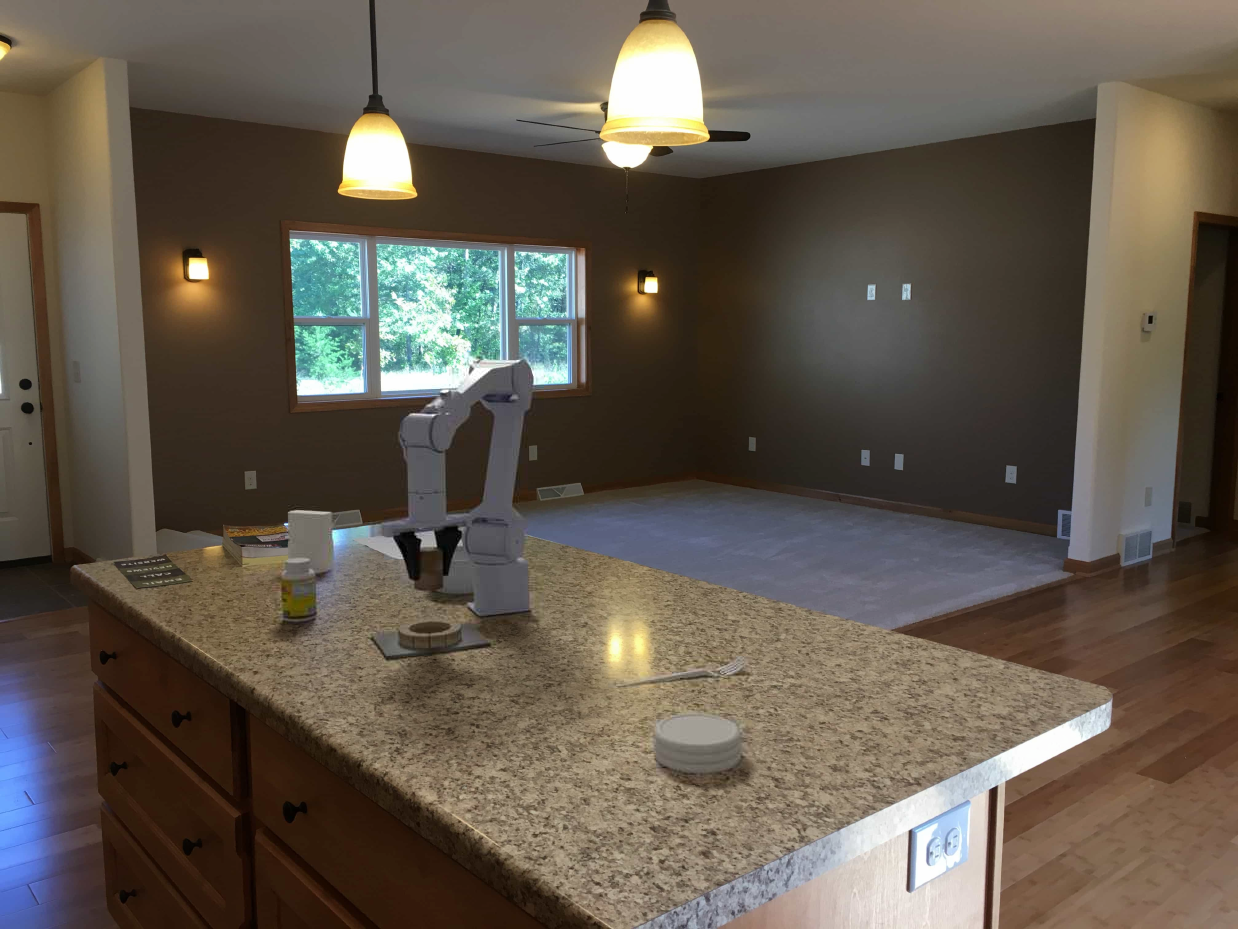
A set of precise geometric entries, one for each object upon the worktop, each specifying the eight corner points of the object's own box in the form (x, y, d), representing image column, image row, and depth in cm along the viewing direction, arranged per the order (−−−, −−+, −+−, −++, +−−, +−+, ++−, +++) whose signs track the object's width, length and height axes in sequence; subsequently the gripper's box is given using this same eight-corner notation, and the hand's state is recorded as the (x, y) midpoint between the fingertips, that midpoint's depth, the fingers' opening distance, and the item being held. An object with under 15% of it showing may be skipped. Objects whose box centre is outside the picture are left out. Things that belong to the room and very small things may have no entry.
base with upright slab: (280, 572, 200) (277, 514, 199) (306, 563, 209) (304, 507, 207) (318, 575, 198) (315, 517, 196) (342, 565, 206) (341, 509, 205)
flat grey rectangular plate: (468, 625, 162) (468, 612, 162) (490, 645, 151) (490, 631, 151) (371, 637, 155) (371, 623, 155) (387, 659, 144) (386, 644, 144)
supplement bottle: (283, 615, 168) (280, 557, 167) (316, 613, 169) (314, 555, 168) (282, 624, 162) (279, 564, 161) (317, 622, 164) (314, 562, 163)
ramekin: (489, 596, 181) (489, 560, 180) (419, 596, 181) (418, 559, 181) (499, 579, 194) (499, 545, 194) (434, 579, 195) (433, 545, 194)
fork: (611, 687, 135) (611, 674, 135) (739, 668, 142) (739, 655, 142) (619, 696, 132) (619, 682, 132) (750, 675, 139) (750, 662, 139)
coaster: (734, 739, 116) (734, 711, 116) (747, 776, 106) (748, 745, 106) (650, 740, 116) (650, 712, 115) (656, 777, 106) (656, 746, 105)
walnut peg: (434, 582, 155) (433, 545, 155) (448, 587, 152) (447, 550, 151) (409, 586, 153) (408, 549, 152) (422, 592, 149) (421, 553, 148)
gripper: (456, 484, 158) (457, 566, 160) (371, 492, 149) (374, 578, 151) (478, 489, 152) (479, 574, 154) (391, 497, 144) (394, 587, 145)
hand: (428, 577), depth 152 cm, fingers closed on walnut peg, 4 cm apart
